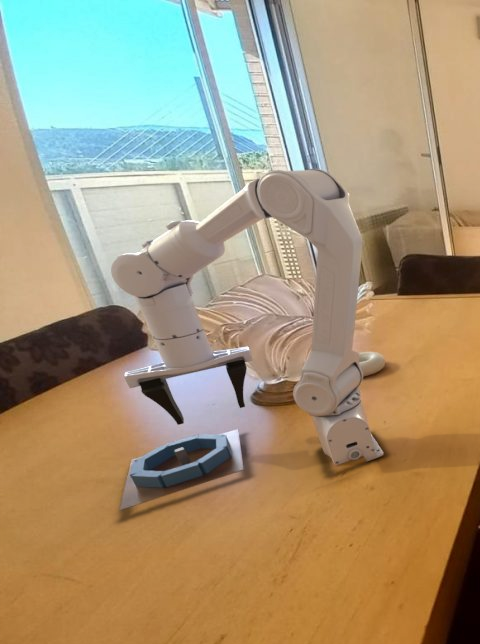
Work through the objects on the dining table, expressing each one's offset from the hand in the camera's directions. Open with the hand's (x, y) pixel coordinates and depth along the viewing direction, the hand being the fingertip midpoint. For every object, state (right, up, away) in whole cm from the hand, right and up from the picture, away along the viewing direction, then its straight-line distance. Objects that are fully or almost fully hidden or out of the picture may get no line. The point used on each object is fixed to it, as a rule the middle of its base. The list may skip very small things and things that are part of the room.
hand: (212, 413), depth 75 cm
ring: (-4, -8, -1) cm, 9 cm away
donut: (+5, +6, +35) cm, 36 cm away
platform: (-4, -9, 0) cm, 10 cm away
